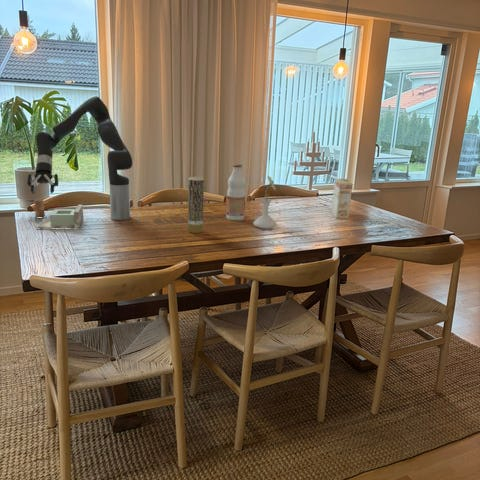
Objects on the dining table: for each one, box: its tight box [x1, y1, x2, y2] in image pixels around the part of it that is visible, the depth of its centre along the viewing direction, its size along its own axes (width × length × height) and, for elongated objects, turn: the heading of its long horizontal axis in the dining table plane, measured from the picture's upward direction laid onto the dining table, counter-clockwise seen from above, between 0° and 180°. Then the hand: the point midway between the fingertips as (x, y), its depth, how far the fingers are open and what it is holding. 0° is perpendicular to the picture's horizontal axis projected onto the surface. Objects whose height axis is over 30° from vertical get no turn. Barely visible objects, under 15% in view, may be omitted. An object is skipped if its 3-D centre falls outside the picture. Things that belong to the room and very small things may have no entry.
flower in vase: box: [253, 175, 277, 229], centre depth 221 cm, size 13×11×25 cm
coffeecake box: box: [331, 178, 354, 220], centre depth 251 cm, size 15×7×20 cm, turn 179°
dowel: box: [33, 198, 46, 218], centre depth 222 cm, size 4×4×8 cm
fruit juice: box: [225, 163, 247, 221], centre depth 234 cm, size 9×9×28 cm
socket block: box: [49, 208, 76, 226], centre depth 211 cm, size 10×10×5 cm
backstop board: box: [36, 204, 84, 230], centre depth 211 cm, size 18×14×8 cm
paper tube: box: [187, 176, 205, 234], centre depth 208 cm, size 7×7×25 cm
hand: (42, 192), depth 227 cm, fingers open, 8 cm apart
